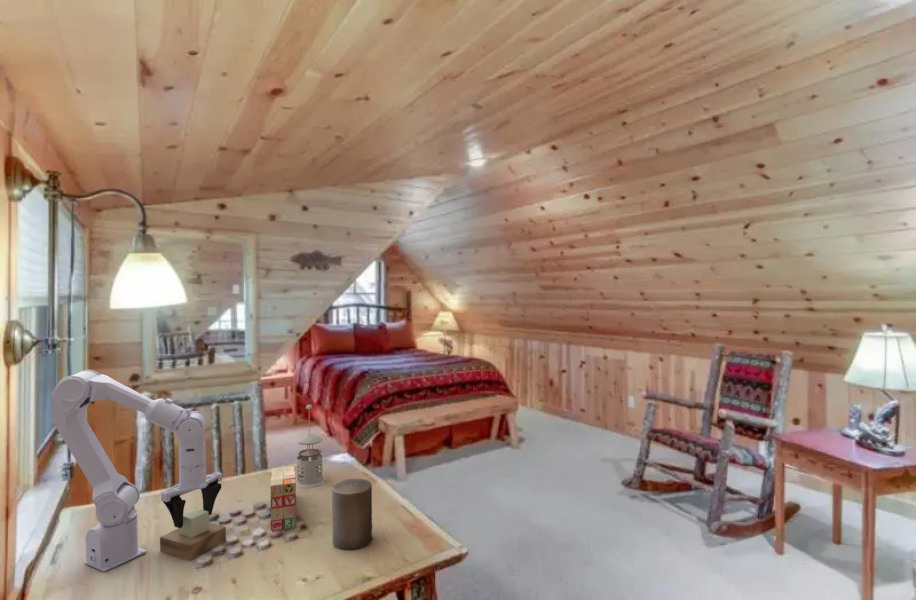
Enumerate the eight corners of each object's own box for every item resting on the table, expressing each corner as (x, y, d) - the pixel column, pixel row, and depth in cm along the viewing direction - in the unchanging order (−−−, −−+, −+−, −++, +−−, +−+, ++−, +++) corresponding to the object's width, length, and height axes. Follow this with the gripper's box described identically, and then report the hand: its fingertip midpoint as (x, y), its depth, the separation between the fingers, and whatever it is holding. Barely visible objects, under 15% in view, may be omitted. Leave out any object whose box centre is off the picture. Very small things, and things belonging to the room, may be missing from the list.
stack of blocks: (271, 499, 150) (271, 458, 150) (294, 496, 152) (293, 455, 152) (270, 532, 130) (270, 484, 130) (296, 528, 132) (296, 481, 132)
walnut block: (189, 563, 116) (189, 545, 116) (160, 553, 120) (160, 537, 120) (225, 542, 125) (225, 526, 125) (197, 534, 130) (197, 519, 129)
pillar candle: (380, 537, 127) (380, 478, 127) (351, 554, 119) (351, 491, 119) (352, 527, 133) (352, 470, 132) (323, 543, 125) (323, 482, 124)
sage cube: (191, 537, 120) (191, 519, 120) (179, 533, 122) (179, 515, 122) (208, 529, 124) (208, 511, 124) (196, 525, 126) (196, 507, 126)
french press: (293, 489, 157) (292, 409, 157) (294, 476, 169) (294, 401, 168) (325, 486, 160) (325, 407, 159) (325, 473, 171) (324, 399, 170)
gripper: (174, 477, 114) (175, 536, 114) (229, 457, 127) (230, 511, 127) (155, 471, 117) (156, 530, 118) (211, 453, 130) (211, 506, 131)
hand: (193, 520), depth 123 cm, fingers open, 7 cm apart
